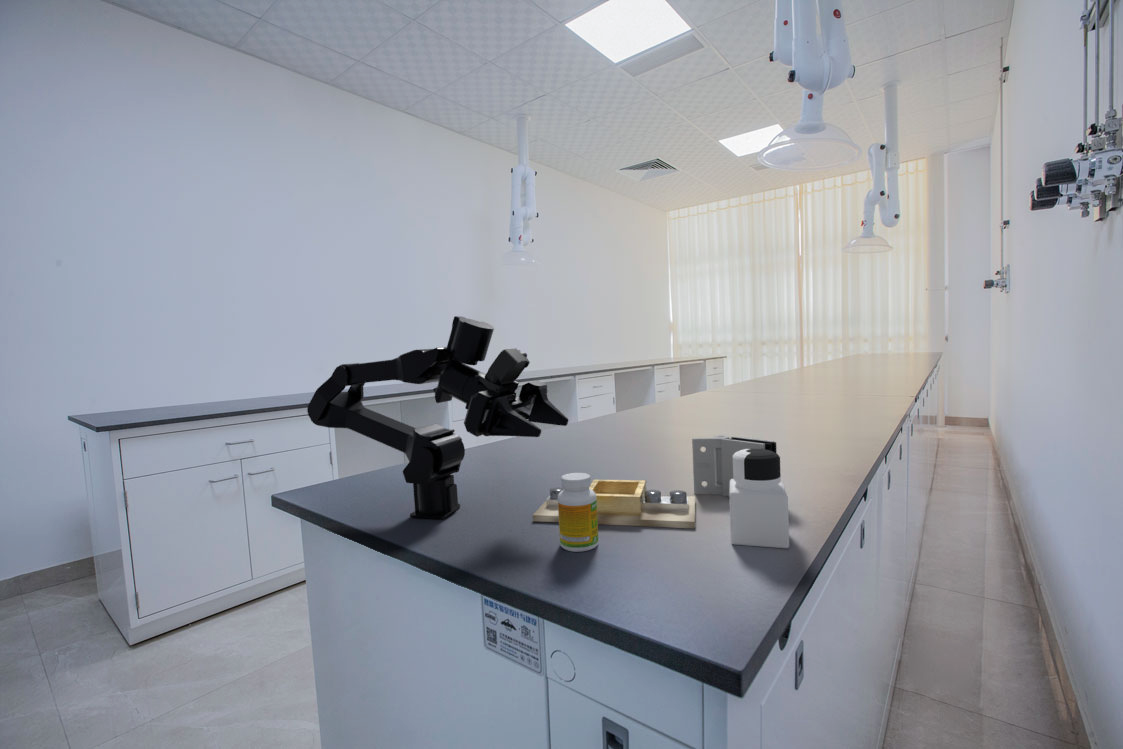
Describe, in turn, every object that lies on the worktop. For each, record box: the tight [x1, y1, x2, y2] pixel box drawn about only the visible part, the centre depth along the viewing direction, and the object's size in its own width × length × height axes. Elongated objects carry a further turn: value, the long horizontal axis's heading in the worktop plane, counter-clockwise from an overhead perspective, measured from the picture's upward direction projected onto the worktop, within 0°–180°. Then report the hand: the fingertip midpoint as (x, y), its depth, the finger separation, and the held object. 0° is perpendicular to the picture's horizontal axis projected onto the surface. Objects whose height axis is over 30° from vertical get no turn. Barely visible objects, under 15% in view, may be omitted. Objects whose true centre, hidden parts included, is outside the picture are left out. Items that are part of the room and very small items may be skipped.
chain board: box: [532, 495, 696, 529], centre depth 82 cm, size 25×12×1 cm, turn 75°
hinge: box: [691, 435, 778, 497], centre depth 87 cm, size 14×5×10 cm, turn 52°
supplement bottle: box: [558, 472, 599, 553], centre depth 69 cm, size 5×5×10 cm
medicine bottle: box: [728, 449, 790, 549], centre depth 68 cm, size 7×7×12 cm
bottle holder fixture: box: [545, 479, 689, 516], centre depth 82 cm, size 23×9×3 cm, turn 75°
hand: (554, 427), depth 75 cm, fingers open, 9 cm apart
